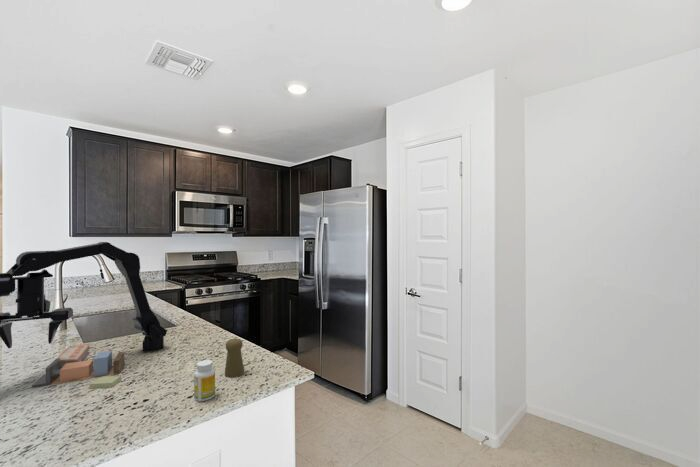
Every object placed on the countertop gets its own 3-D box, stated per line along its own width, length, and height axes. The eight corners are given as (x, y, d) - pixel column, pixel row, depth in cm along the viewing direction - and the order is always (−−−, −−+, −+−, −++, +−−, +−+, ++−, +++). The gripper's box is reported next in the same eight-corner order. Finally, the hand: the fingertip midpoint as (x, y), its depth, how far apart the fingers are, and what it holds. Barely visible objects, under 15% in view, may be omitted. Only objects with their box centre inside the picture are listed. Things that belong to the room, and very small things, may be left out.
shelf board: (124, 367, 111) (124, 351, 111) (119, 377, 103) (118, 360, 103) (42, 380, 102) (42, 362, 102) (29, 392, 94) (29, 373, 94)
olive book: (121, 385, 99) (121, 375, 99) (112, 392, 94) (111, 382, 94) (100, 386, 98) (100, 377, 98) (89, 393, 94) (89, 384, 94)
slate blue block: (112, 367, 108) (111, 350, 108) (107, 374, 103) (107, 357, 103) (99, 369, 107) (99, 352, 107) (94, 376, 101) (93, 358, 101)
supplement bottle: (190, 401, 88) (189, 366, 88) (201, 391, 94) (200, 358, 94) (208, 402, 88) (208, 367, 88) (219, 392, 93) (218, 359, 93)
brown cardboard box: (93, 370, 106) (93, 359, 106) (88, 376, 101) (88, 365, 101) (66, 374, 103) (65, 363, 103) (59, 381, 98) (59, 370, 98)
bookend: (60, 373, 103) (60, 358, 103) (50, 384, 96) (49, 367, 96) (44, 376, 102) (43, 360, 102) (32, 387, 95) (32, 370, 94)
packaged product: (61, 345, 120) (95, 341, 124) (62, 358, 120) (95, 354, 125) (42, 363, 104) (81, 358, 108) (42, 378, 104) (81, 372, 108)
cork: (248, 370, 107) (247, 337, 107) (236, 378, 102) (235, 343, 102) (233, 368, 109) (232, 335, 109) (220, 376, 104) (219, 341, 103)
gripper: (78, 287, 109) (77, 334, 109) (1, 291, 100) (0, 342, 100) (67, 292, 99) (67, 344, 99) (-19, 298, 90) (-20, 354, 90)
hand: (30, 345), depth 97 cm, fingers open, 9 cm apart
